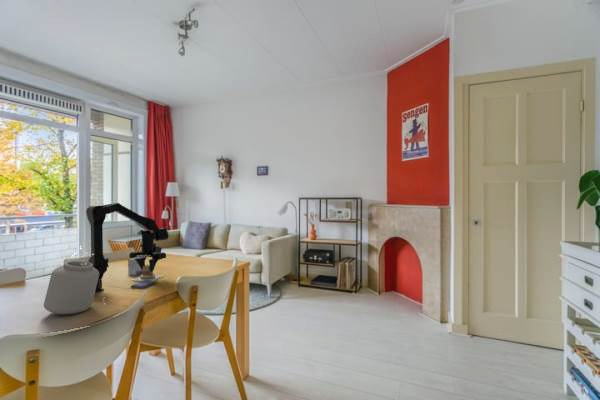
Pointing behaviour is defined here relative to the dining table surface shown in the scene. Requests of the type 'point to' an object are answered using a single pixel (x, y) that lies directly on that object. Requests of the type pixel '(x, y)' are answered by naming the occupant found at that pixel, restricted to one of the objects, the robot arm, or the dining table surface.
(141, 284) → the ink pad
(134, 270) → the medicine box
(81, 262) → the jar
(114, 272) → the dining table surface
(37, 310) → the dining table surface
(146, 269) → the stamp
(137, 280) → the mat
